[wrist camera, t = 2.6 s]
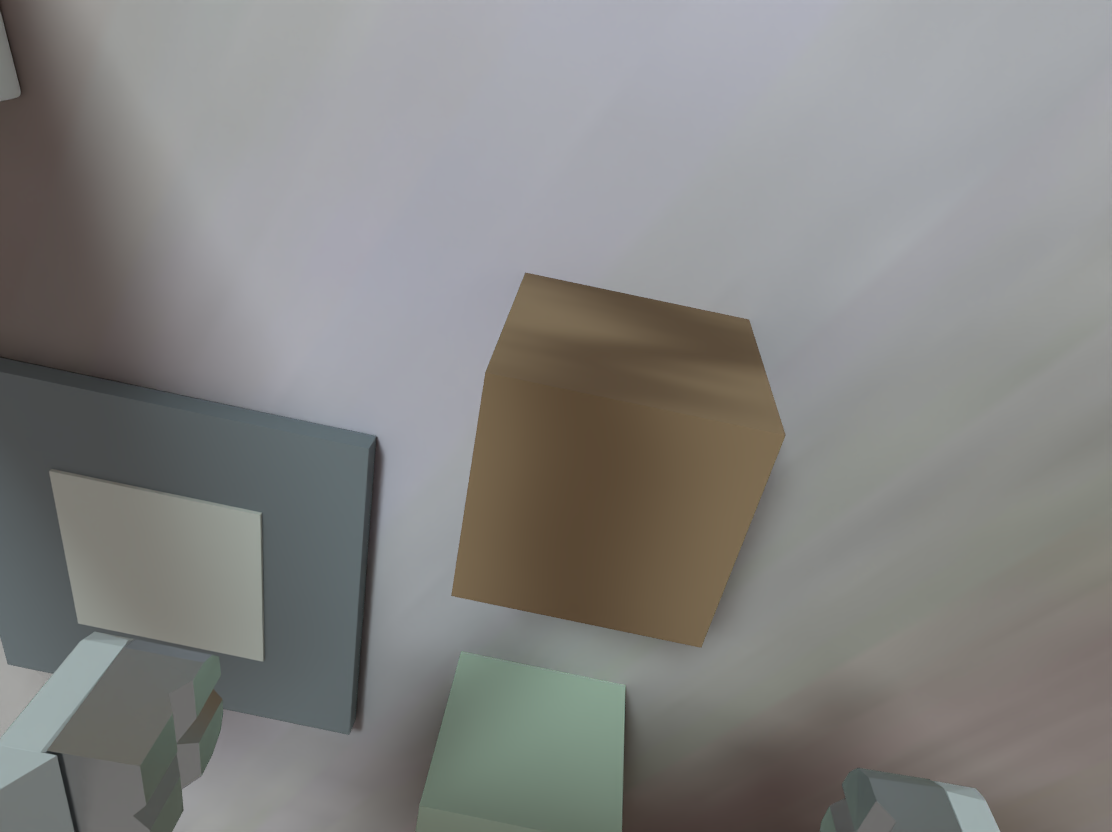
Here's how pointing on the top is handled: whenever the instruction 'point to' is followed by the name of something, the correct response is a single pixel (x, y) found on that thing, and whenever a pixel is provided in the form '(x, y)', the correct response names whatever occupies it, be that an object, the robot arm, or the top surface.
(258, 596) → the coaster
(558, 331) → the walnut block
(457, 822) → the green block
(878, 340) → the top surface
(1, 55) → the milk
